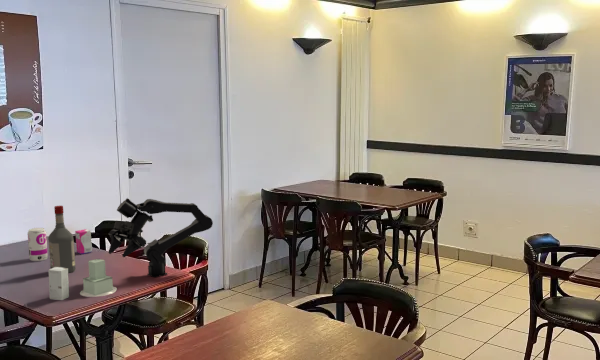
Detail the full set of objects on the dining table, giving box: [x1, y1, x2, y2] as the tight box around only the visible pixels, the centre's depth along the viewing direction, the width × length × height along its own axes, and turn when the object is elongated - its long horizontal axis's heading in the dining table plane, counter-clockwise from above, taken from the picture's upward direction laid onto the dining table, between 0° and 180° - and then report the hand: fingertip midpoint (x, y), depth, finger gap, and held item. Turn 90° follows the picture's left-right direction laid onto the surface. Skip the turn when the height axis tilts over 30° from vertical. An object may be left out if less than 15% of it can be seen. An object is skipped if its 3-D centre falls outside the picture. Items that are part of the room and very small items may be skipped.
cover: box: [82, 258, 114, 295], centre depth 234 cm, size 8×8×12 cm
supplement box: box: [74, 228, 93, 256], centre depth 297 cm, size 6×6×12 cm
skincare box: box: [48, 267, 70, 301], centre depth 227 cm, size 6×4×12 cm
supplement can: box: [27, 227, 49, 262], centre depth 285 cm, size 8×8×15 cm
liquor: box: [48, 205, 76, 274], centre depth 263 cm, size 9×9×30 cm
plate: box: [79, 286, 118, 298], centre depth 235 cm, size 14×14×1 cm
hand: (116, 255), depth 243 cm, fingers open, 9 cm apart
